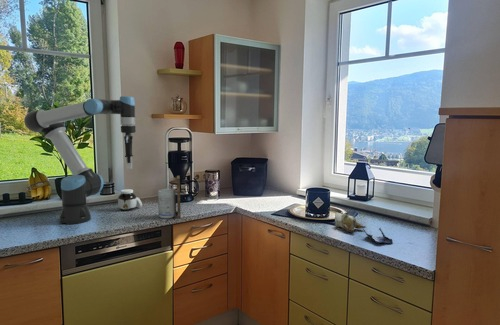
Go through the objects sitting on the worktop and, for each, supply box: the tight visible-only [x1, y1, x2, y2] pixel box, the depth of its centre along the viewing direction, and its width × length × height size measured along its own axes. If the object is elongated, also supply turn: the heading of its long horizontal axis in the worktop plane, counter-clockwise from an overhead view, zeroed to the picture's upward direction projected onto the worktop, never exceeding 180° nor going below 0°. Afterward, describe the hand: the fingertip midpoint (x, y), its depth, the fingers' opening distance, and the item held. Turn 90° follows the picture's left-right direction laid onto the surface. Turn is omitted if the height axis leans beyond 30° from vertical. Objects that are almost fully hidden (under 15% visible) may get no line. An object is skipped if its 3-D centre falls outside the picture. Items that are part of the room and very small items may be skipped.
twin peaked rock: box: [362, 227, 393, 245], centre depth 165 cm, size 12×7×12 cm
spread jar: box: [117, 188, 143, 212], centre depth 221 cm, size 12×11×12 cm
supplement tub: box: [157, 188, 177, 219], centre depth 204 cm, size 10×10×15 cm
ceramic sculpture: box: [334, 211, 367, 232], centre depth 182 cm, size 11×9×15 cm
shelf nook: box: [169, 175, 182, 220], centre depth 204 cm, size 5×10×22 cm, turn 11°
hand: (129, 168), depth 203 cm, fingers closed
